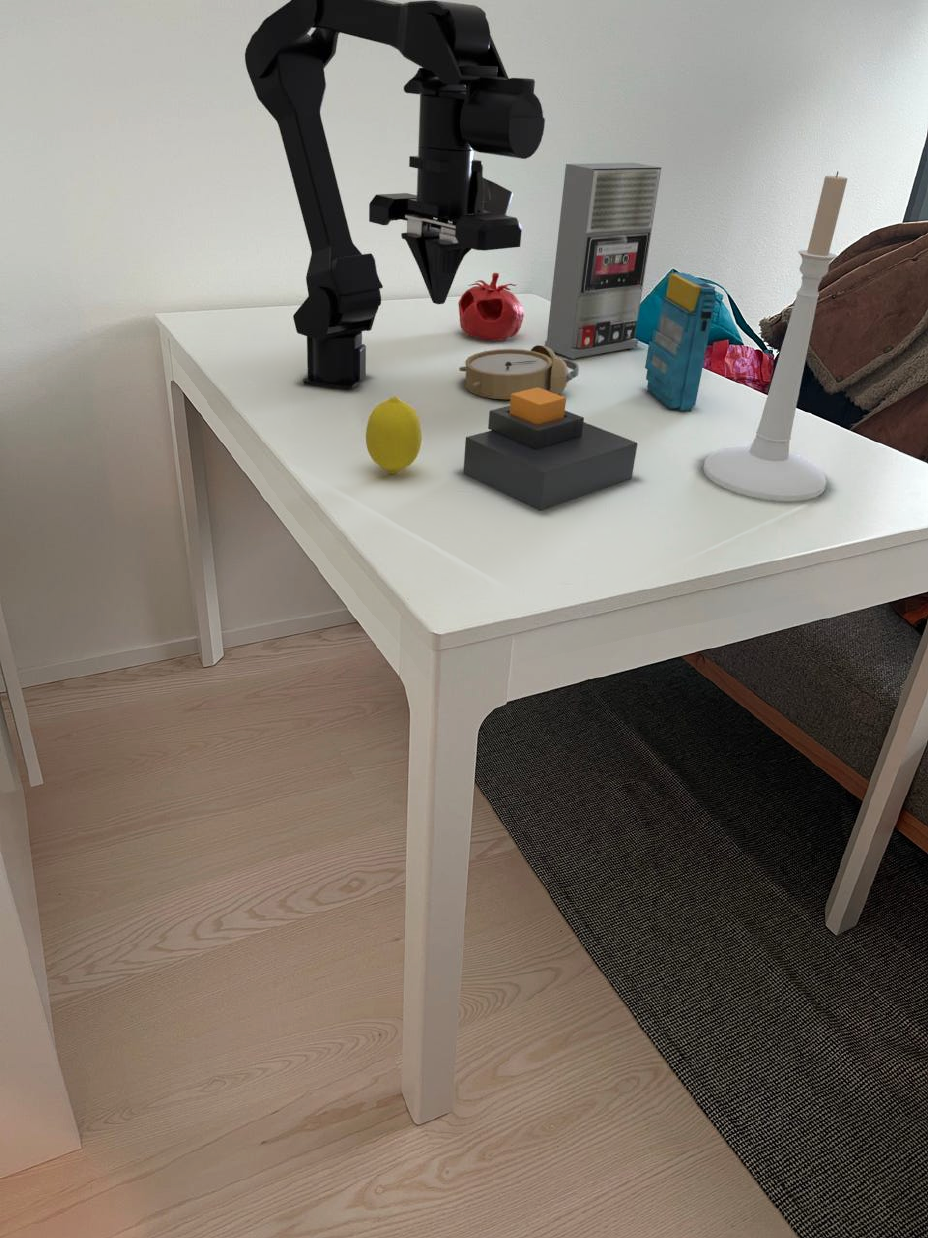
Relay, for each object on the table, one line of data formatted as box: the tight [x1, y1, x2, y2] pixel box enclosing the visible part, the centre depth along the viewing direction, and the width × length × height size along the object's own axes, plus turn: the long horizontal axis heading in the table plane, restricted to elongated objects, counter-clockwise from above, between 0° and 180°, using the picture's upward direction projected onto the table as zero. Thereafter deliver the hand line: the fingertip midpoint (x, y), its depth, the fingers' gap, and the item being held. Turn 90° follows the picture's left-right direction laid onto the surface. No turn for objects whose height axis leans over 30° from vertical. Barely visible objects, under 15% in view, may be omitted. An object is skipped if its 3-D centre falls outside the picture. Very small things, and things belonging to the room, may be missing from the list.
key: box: [509, 387, 567, 425], centre depth 96 cm, size 4×4×2 cm
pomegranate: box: [457, 272, 525, 341], centre depth 142 cm, size 10×10×9 cm
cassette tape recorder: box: [544, 162, 662, 360], centre depth 135 cm, size 14×6×25 cm, turn 129°
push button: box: [462, 405, 638, 512], centre depth 97 cm, size 12×14×6 cm
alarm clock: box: [459, 344, 580, 400], centre depth 122 cm, size 11×5×15 cm
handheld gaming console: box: [644, 271, 717, 413], centre depth 119 cm, size 10×4×15 cm, turn 12°
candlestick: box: [702, 171, 848, 502], centre depth 94 cm, size 13×13×30 cm
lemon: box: [365, 396, 423, 475], centre depth 94 cm, size 6×6×8 cm
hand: (438, 303), depth 105 cm, fingers closed
